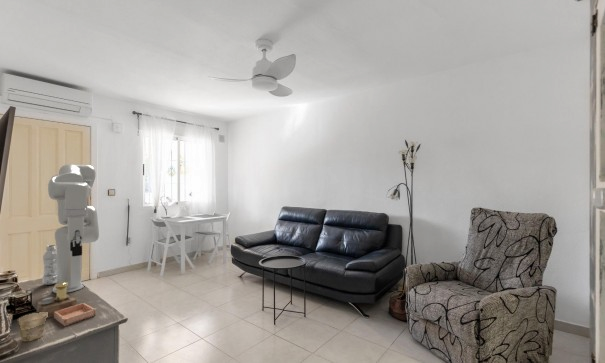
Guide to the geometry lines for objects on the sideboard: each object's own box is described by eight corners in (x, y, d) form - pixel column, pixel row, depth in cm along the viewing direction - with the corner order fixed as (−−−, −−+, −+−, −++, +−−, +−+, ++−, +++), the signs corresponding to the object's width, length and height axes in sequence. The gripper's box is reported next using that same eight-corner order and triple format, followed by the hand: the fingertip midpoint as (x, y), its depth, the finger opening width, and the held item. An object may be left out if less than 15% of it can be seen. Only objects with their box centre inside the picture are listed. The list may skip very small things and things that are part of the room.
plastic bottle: (49, 281, 150) (49, 244, 150) (62, 281, 150) (62, 244, 150) (38, 286, 143) (38, 247, 143) (52, 286, 144) (53, 247, 144)
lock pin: (53, 309, 119) (53, 283, 119) (65, 306, 123) (65, 280, 122) (57, 312, 117) (57, 286, 117) (69, 308, 120) (69, 283, 120)
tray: (53, 318, 112) (53, 311, 112) (83, 308, 121) (83, 302, 121) (64, 326, 106) (64, 319, 106) (95, 315, 115) (95, 309, 115)
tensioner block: (37, 312, 117) (37, 298, 117) (67, 303, 125) (67, 290, 125) (45, 318, 112) (45, 304, 111) (76, 309, 120) (76, 295, 120)
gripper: (63, 211, 122) (63, 250, 123) (66, 216, 110) (65, 259, 110) (85, 209, 127) (84, 247, 128) (90, 214, 115) (89, 256, 115)
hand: (76, 253), depth 119 cm, fingers open, 9 cm apart
